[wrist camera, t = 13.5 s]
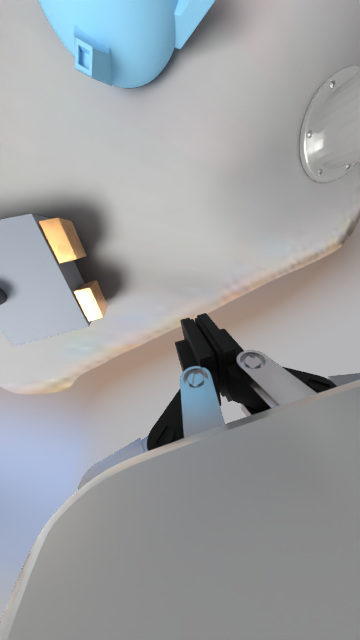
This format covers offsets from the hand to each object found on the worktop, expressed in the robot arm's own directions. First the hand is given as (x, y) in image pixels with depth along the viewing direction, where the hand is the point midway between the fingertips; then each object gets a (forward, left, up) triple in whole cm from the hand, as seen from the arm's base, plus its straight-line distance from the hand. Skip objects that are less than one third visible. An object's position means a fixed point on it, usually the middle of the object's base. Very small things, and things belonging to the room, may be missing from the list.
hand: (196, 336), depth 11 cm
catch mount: (+17, -4, -21) cm, 27 cm away
